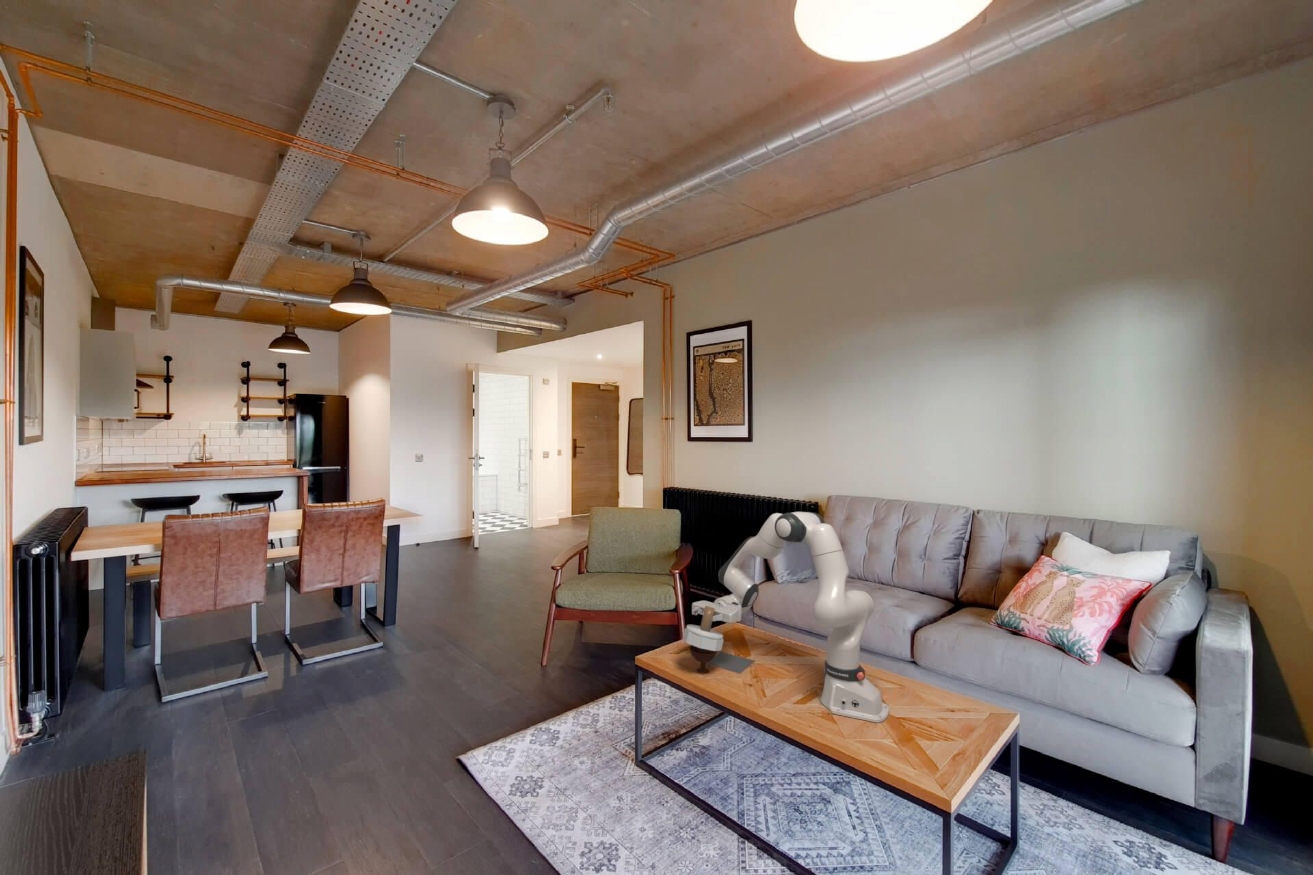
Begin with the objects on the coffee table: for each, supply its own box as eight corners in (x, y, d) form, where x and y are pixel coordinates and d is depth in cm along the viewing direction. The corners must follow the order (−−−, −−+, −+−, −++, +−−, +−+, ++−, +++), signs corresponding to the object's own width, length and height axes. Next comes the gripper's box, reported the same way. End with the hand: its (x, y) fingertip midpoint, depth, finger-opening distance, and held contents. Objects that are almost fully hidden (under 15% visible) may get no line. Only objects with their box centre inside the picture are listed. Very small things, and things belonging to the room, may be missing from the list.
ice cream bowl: (718, 678, 216) (719, 639, 216) (689, 677, 216) (690, 638, 216) (715, 666, 227) (716, 629, 226) (688, 666, 227) (689, 629, 227)
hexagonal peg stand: (726, 649, 222) (734, 612, 225) (709, 651, 211) (718, 612, 213) (694, 637, 231) (702, 602, 233) (677, 639, 219) (685, 601, 221)
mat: (755, 661, 232) (755, 660, 232) (740, 674, 220) (740, 673, 220) (721, 652, 241) (721, 651, 241) (704, 664, 228) (704, 663, 228)
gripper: (704, 595, 238) (682, 601, 227) (744, 606, 223) (723, 613, 213) (704, 609, 238) (682, 617, 228) (744, 621, 224) (723, 630, 213)
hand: (702, 615), depth 220 cm, fingers open, 8 cm apart
